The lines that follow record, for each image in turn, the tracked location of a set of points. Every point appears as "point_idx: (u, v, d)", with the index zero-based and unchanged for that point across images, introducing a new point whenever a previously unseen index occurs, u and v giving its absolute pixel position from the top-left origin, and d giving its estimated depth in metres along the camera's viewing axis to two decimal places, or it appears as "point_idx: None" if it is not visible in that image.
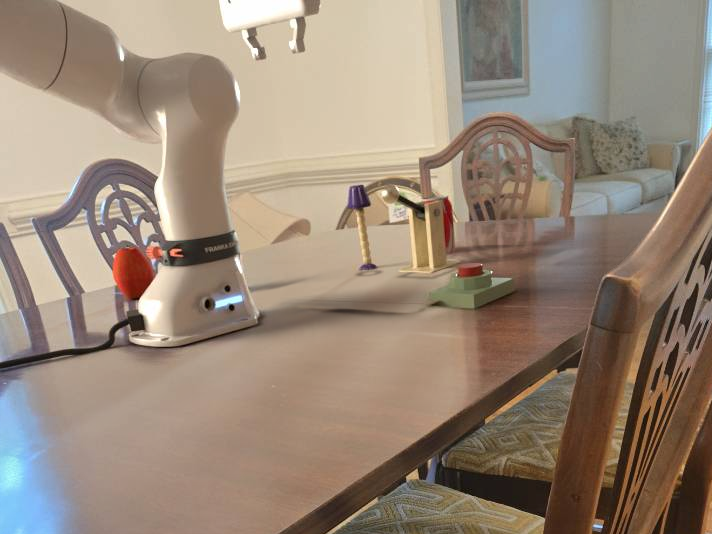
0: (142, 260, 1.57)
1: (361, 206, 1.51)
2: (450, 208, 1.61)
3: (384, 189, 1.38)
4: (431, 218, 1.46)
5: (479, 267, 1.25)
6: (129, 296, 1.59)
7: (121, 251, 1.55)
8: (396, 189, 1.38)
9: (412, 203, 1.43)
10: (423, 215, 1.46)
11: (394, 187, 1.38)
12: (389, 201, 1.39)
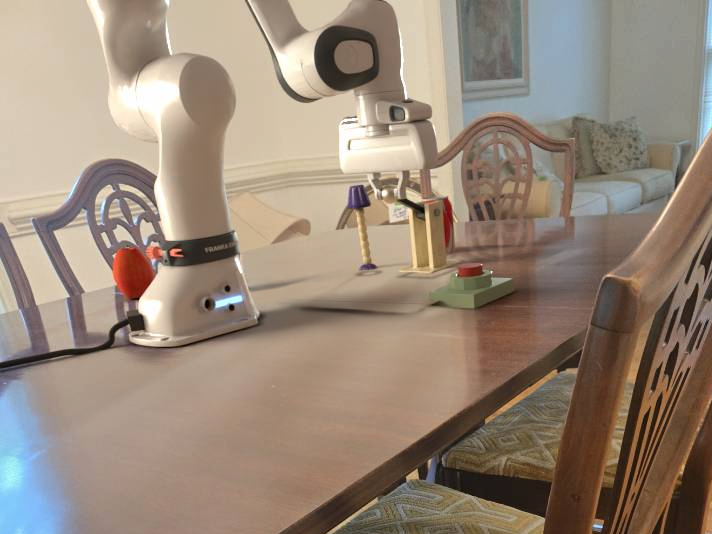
0: (142, 260, 1.57)
1: (361, 206, 1.51)
2: (450, 208, 1.61)
3: (384, 189, 1.38)
4: (431, 218, 1.46)
5: (479, 267, 1.25)
6: (129, 296, 1.59)
7: (121, 251, 1.55)
8: None
9: (412, 203, 1.43)
10: (423, 215, 1.46)
11: (394, 187, 1.38)
12: (389, 201, 1.39)
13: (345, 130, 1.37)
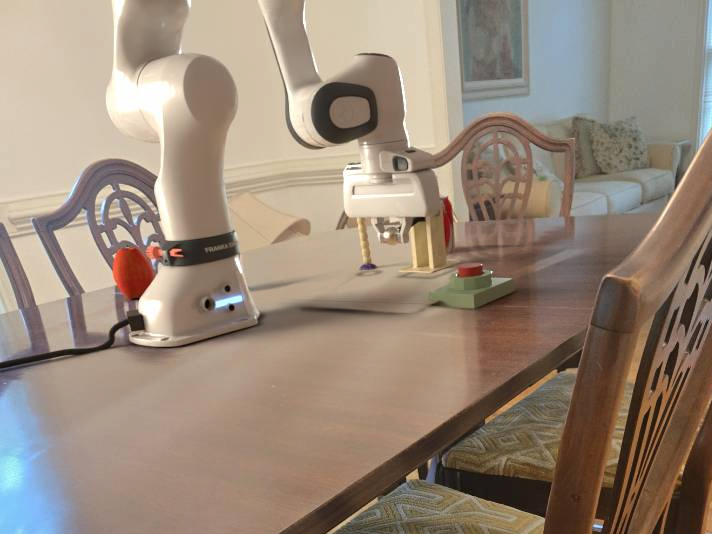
0: (142, 260, 1.57)
1: None
2: (450, 208, 1.61)
3: (385, 237, 1.41)
4: (431, 218, 1.46)
5: (479, 267, 1.25)
6: (129, 296, 1.59)
7: (121, 251, 1.55)
8: (396, 232, 1.41)
9: None
10: (425, 220, 1.47)
11: (394, 232, 1.40)
12: None
13: (349, 176, 1.40)
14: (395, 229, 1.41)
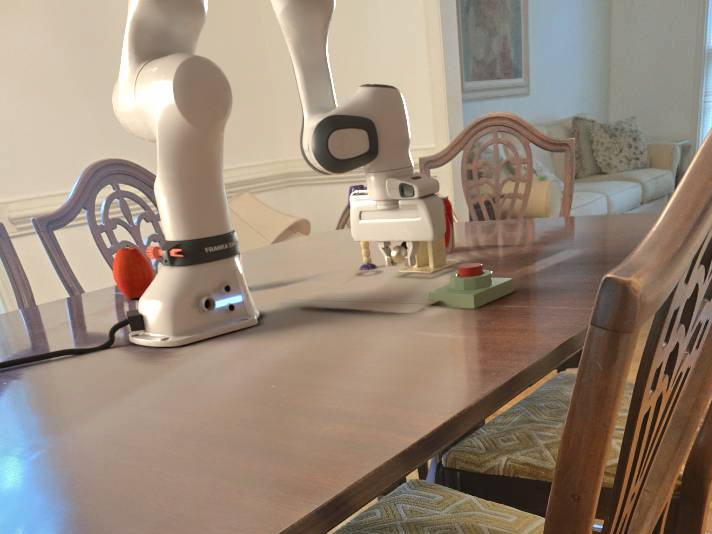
0: (142, 260, 1.57)
1: None
2: (450, 208, 1.61)
3: (393, 259, 1.44)
4: None
5: (479, 267, 1.25)
6: (129, 296, 1.59)
7: (121, 251, 1.55)
8: (403, 252, 1.43)
9: None
10: None
11: (400, 252, 1.43)
12: None
13: (356, 202, 1.43)
14: (401, 249, 1.43)
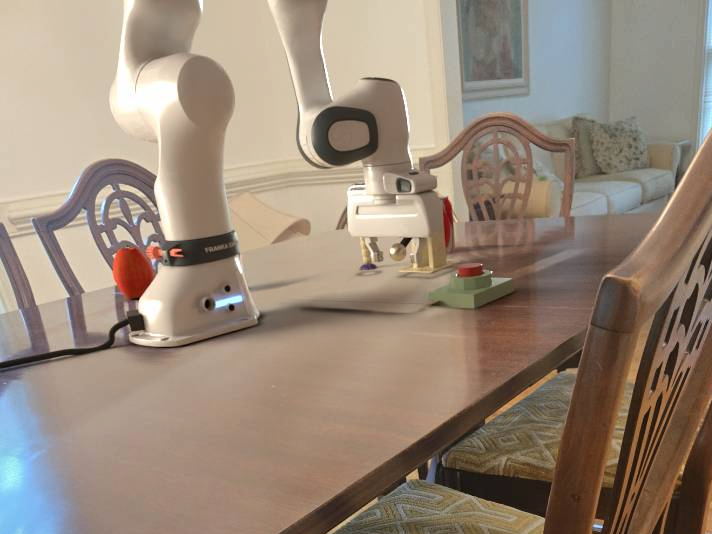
0: (142, 260, 1.57)
1: None
2: (450, 208, 1.61)
3: (392, 256, 1.44)
4: None
5: (479, 267, 1.25)
6: (129, 296, 1.59)
7: (121, 251, 1.55)
8: (401, 250, 1.43)
9: None
10: None
11: (399, 250, 1.43)
12: (401, 260, 1.45)
13: (353, 196, 1.42)
14: (400, 246, 1.43)
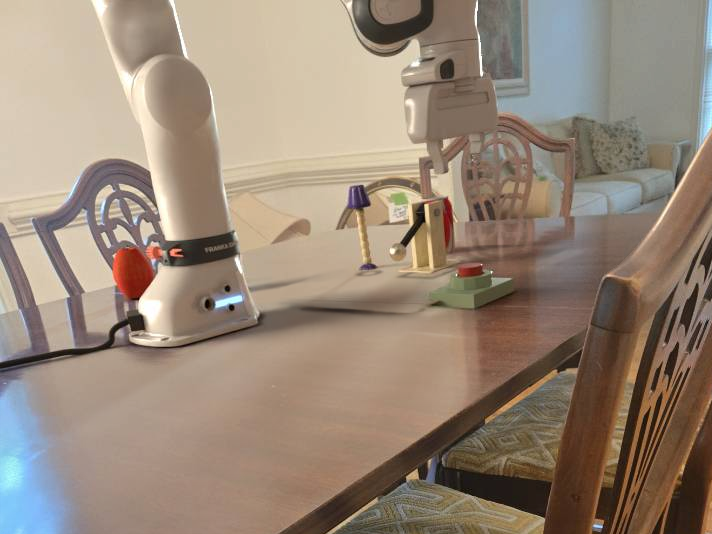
0: (142, 260, 1.57)
1: (361, 206, 1.51)
2: (450, 208, 1.61)
3: (392, 256, 1.44)
4: (431, 218, 1.46)
5: (479, 267, 1.25)
6: (129, 296, 1.59)
7: (121, 251, 1.55)
8: (401, 250, 1.43)
9: (415, 230, 1.46)
10: None
11: (399, 250, 1.43)
12: (401, 260, 1.45)
13: None
14: (400, 246, 1.43)
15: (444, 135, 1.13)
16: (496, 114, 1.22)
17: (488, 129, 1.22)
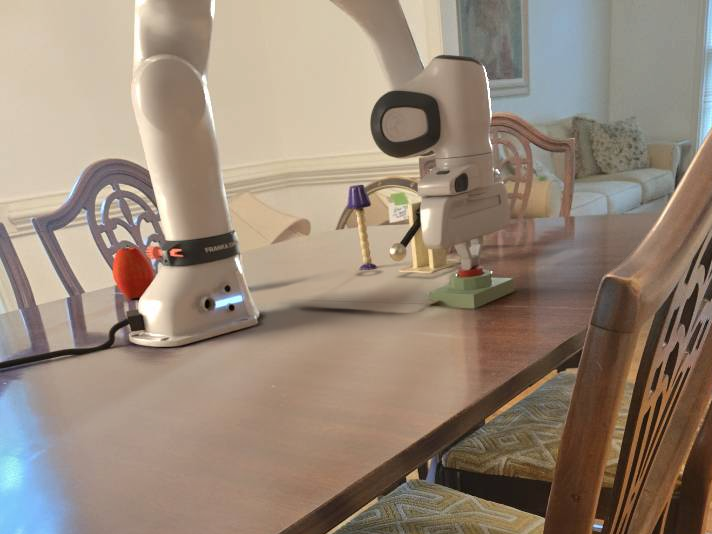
0: (142, 260, 1.57)
1: (361, 206, 1.51)
2: None
3: (392, 256, 1.44)
4: None
5: (479, 270, 1.25)
6: (129, 296, 1.59)
7: (121, 251, 1.55)
8: (401, 250, 1.43)
9: (415, 230, 1.46)
10: None
11: (399, 250, 1.43)
12: (401, 260, 1.45)
13: None
14: (400, 246, 1.43)
15: (458, 241, 1.19)
16: (507, 214, 1.28)
17: (500, 229, 1.27)
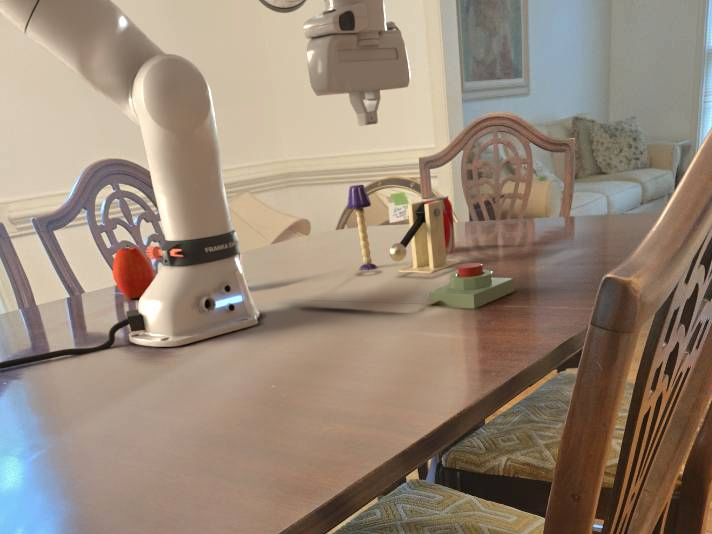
0: (142, 260, 1.57)
1: (361, 206, 1.51)
2: (450, 208, 1.61)
3: (392, 256, 1.44)
4: (431, 218, 1.46)
5: (479, 267, 1.25)
6: (129, 296, 1.59)
7: (121, 251, 1.55)
8: (401, 250, 1.43)
9: (415, 230, 1.46)
10: None
11: (399, 250, 1.43)
12: (401, 260, 1.45)
13: None
14: (400, 246, 1.43)
15: (348, 88, 1.15)
16: (407, 71, 1.24)
17: (398, 86, 1.24)
